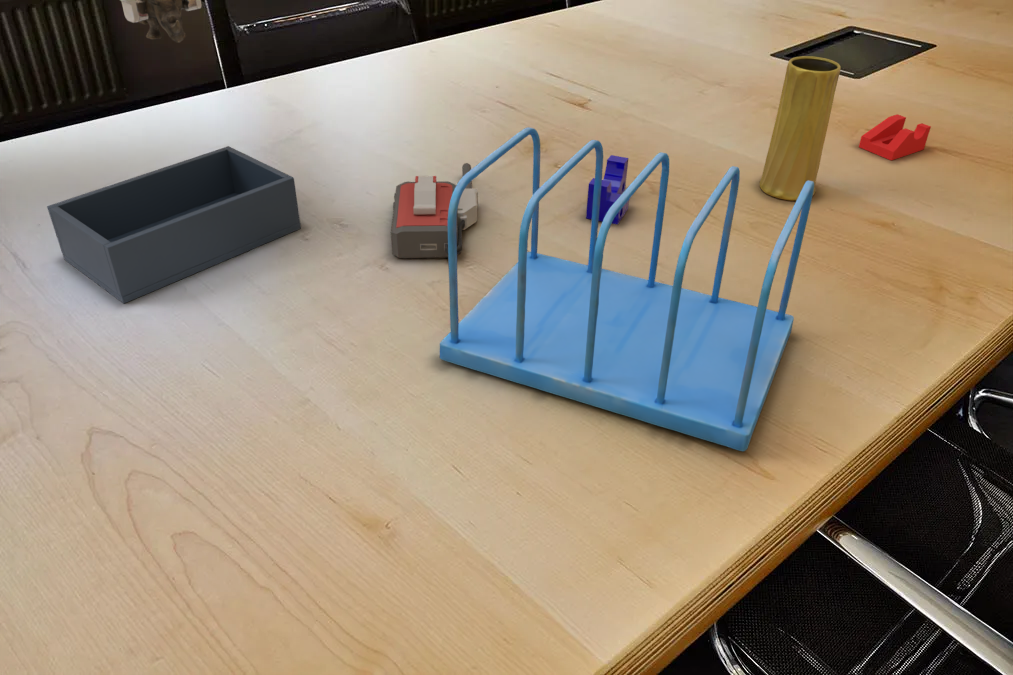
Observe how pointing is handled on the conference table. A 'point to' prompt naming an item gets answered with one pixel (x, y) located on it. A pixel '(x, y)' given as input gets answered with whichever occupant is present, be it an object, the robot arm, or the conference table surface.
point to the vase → (800, 126)
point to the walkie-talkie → (429, 216)
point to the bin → (174, 221)
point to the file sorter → (627, 319)
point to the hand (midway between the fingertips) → (164, 14)
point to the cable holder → (610, 188)
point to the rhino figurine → (164, 19)
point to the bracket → (894, 138)
